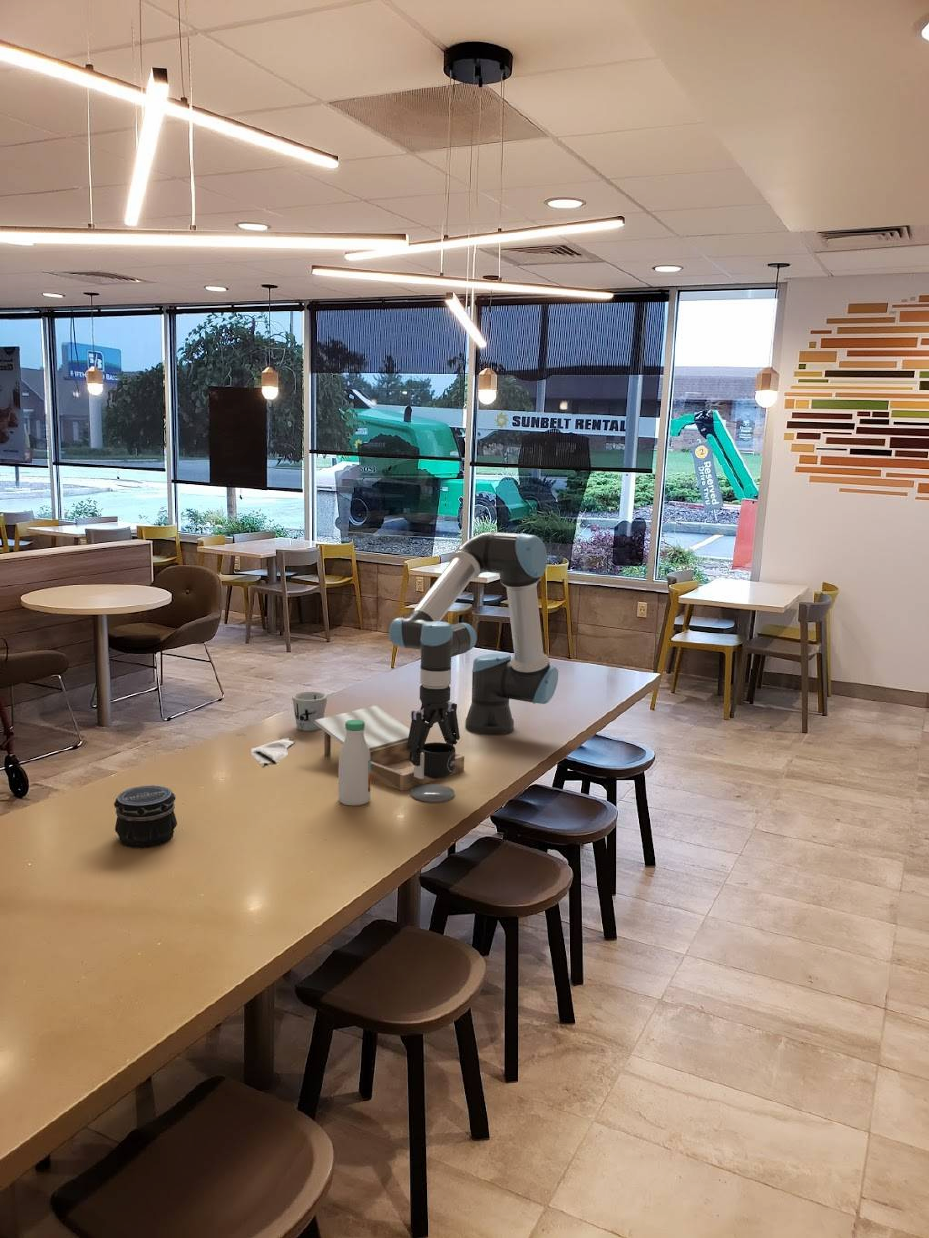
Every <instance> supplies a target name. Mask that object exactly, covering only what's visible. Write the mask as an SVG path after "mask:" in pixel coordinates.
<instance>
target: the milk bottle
mask: <svg viewBox="0 0 929 1238" xmlns="http://www.w3.org/2000/svg"><path fill="white" fill-rule="evenodd" d="M364 727H365V723H364V721H362V720H349V721H346V723H345V728H346V730H345V731H346V737H345V740H344V742H343V744H341V747H340V751H339V755H338V788H337V789H338V801H339V802H340V804H342V805H346V806H352V807H353V806H355V807H356V806H363V805H366V804H368V803H369V802H370V800H371V778H370V777H371V761H370V751H369V747H368V745H367V743H366V741H365V738H364V733H363V732H364Z"/></svg>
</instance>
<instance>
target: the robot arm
mask: <svg viewBox="0 0 929 1238" xmlns="http://www.w3.org/2000/svg"><path fill="white" fill-rule="evenodd" d="M448 560H449V562H448V565H447V566H446V568H445V569H444V570H443V571H442V573H441V574H440V576H438V578H437V579H436V580H435V582H434V583H433V584H432V585H431V586H430V587H429V589H428V590H427V592H426V593H425V594H424V595H423V597H422V598H421V599H420V601H419V602H418V603H417V605H416V606H415V607H414V609H412V611H411V612H410V614H409V615H407V617H396V618H394V619H393V620H392V622H391V624H390V626H389V630H388V636H389V639H390V640H389V641H391V643H392V644H393V645H394V646H396V647H401V648H404V649H413V650H420V668H419V669H420V670H419V672H420V673H419V683H420V684H421V685H420V686H419V701H420V703H421V706H420V709H419V710H417V711H416V710H412V711H411V712H410V714H411V715H410V716H411V721H410V722H411V723H410V726H409V729H410V732H409V737H408V742H407V747H406V749H407V750H408V751H411V752H413V757H412V760H413V763H412V765H413V770H414V777H417V778H420V779H424V753H423V752H422V750H423V747H424V745H425V743H427V742H426V741H427V738H428V735H430V731H431V728H433V726H434V725H435V724H436V723H437V724H438V726H439V730H440V731H441V734H442V737H443V740H444V742H443V743H447V744H450V745H452V746H454V745H455V746H456V745H457V744H458V741H459V740H460V738H461V736H460V735H461V734H460V729H459V722H458V715H457V708H458V704H457V703H455V702H452V701H450V700H451V686H450V685H451V683H452V658H453V657H456V656H459V655H463V654H465V653H467V652H468V651H471V650H472V649H474V647H475V645H476V644H477V641H478V639H477V638H478V637H477V633H476V630H475V629H474V627H473V626H472V625H471V624H470V623H468V622H467V623H466V622H457V623H454V624H451V623H449V622H448V621H442V619H443V618H444V617H445V616H446V615H447V613H448V611H449V610H450V609H451V607H452V606H453V605H454V604H455V602H456V601H457V600H458V598H459V597H460V595H461V594H462V593H463V591H464V590H465V589H466V587H467V586H468V585H469V583H470V582H471V581H475V580H476V579H477V578H478V577H480V575H481V574H484V573H492V574H499V580H500V581H499V582H500V584H501V585H502V586H504V587H506V596H507V603H508V612H509V620H510V627H511V628H510V629H511V638H512V646H513V653H514V656H513V657H512V656H511V655H510V654H508V653H489V654H483V655H479V656H477V657H475V658H474V660H473V662H472V671H471V679H472V680H471V703H470V707H469V710H468V713H467V716H466V718H465V722H464V723H465V724H464V727H465V729H466V730H467V731H469V732H471V733H474V734H480V735H491V736H492V735H493V736H495V735H504V734H505V735H506V734H509V733H511V732H512V731H514V727H515V721H514V719H513V716H512V711H511V706H510V700H515V701H521V702H527V703H533V704H534V705H535V704H540V705H541V704H542V705H545V704H548V703H549V702H550V701H551V699H552V698H553V696H554V695H555V692H556V689H557V686H558V682H559V681H558V680H559V670H558V668H557V667H556V666H554V665H551V664H550V658H549V656H548V655H547V654H545V653H544V647H543V636H542V627H541V626H542V625H541V618H540V616H541V615H540V610H539V609H540V608H539V607H540V606H539V600H538V599H539V596H538V591H537V590H538V587H537V584H538V583H539V582H540V581H541V579H542V578H541V577H542V576H543V575H544V574H545V572H546V569H547V562H548V554H547V549H546V545H545V544H544V541H543V540H542V539H541V538H540V537H539V536H537V535H534V534H528V533H525V532H524V533H523V532H522V533H513V532H501V531H500V532H499V531H485V532H481V533H478V534H476V535H474V536H472V537H470V538H469V539H467V540H466V541H464V542H463V543H461V544H460V545H459V546H458V547H457V548H456V549H455V550H454V552H453V553H452V554H451V555H450V557H449V559H448ZM417 747H418V748H417Z"/></svg>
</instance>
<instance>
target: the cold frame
mask: <svg viewBox="0 0 929 1238" xmlns="http://www.w3.org/2000/svg"><path fill="white" fill-rule="evenodd" d="M349 720H362V721H364V723H365V727H364V732H363V733H364V738H365V741H366V743H367V745H368V747H369V751H370V761H371V777H370V779H371V780H375V781H376V782H377V781H378V782H380V783H383V784H385V785H388V786H390V787H392V788H395V789H398V790H400V791H402V792H403V791H406V790H409V789H410V790H411V789H413V788H414V787H417V786H420V785H426V784H428V783H430V782H433V781H436V780H438V779H433V778H429V777H427V776H424V779H420V778H417V777H414V769H413V770H412V769H411V770H410V771H409V770H408V771H406V772H401V771H399V770H396V769H393V768H392V767H391V768H390V767H388V766H387V765H390V764H394V763H397V762H400V761H403V760H407V759H408V760H409V759H410V758H409V756H410V751H408V750H407V749H406V747H407V742H408V737H409V732H410V727H407V726H406V725H404V724H402V722H400V721H399V720H397V719H396V718H395V717H393V716H391V715H390V714H389V713H387V712H385V710H383V709H382V708H380V707H378V706H377V705H372V706H368V707H363V708H359V709H356V710H351V711H347V712H344V713H339V714H333V715H329V716H324V718H321V719H317V720H315V721H314V723H315V724H316V725H317V726H318V727H320V728H321V729H320V730H323V732H324V747H323V748H324V751H323V752H324V756H326V757H330V756H331V755H332V754H331V753H332V752H331V749H332V747H331V744H332V741H331V739H332V738H333V739H334V740H336V741H337V742H338V743H339V744H340V745H342V744H343V742H344V740H345V737H346V731H345V730H346V728H345V723H346V721H349ZM426 743H427V742H425V744H426ZM412 758H413V753H412ZM464 770H465V756H464V755H462V754H459V753H456V752H455V769H454V772H453V773H452V774H451V775H455V774H457V773H460V772H463V771H464Z"/></svg>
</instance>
